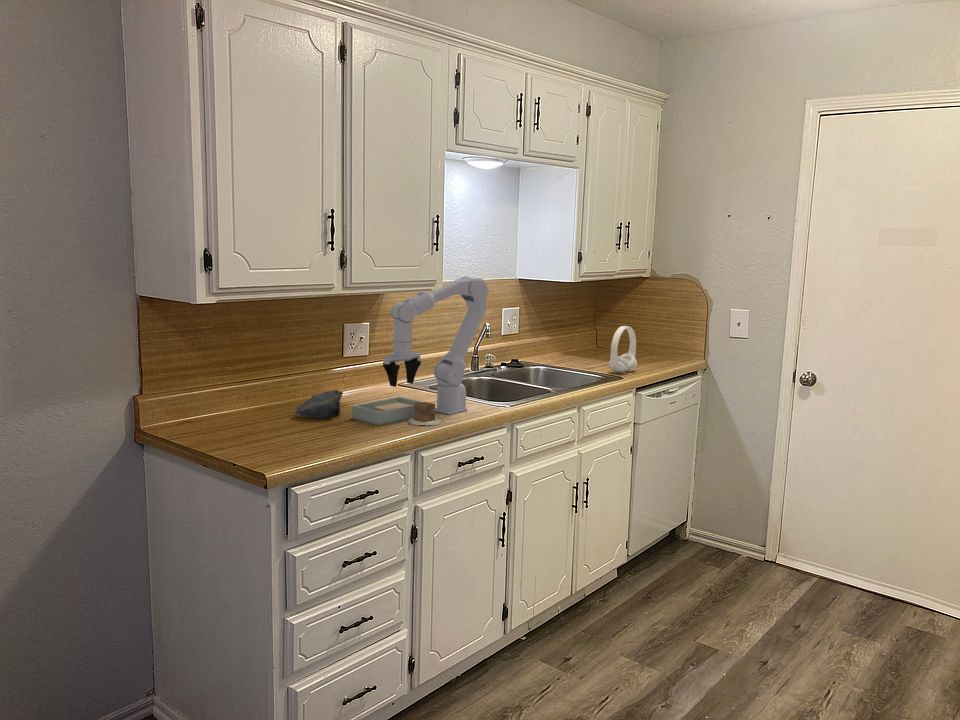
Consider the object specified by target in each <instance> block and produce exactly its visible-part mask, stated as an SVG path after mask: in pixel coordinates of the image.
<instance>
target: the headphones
mask: <svg viewBox="0 0 960 720" xmlns="http://www.w3.org/2000/svg"><path fill="white" fill-rule="evenodd" d="M625 330H626V331H627V333H628V337H629V349H628V352H626V353H623V354H621V355H620V356H619V355H618V349H619V348H618V347H619V343H620V339H621V336H622V334H623V332H624V331H625ZM634 330H635V329H633V327H631V326H628V325H621V326H619V327H618V328H617V329H616V330H615V332H614V334H613V336H612V340H611V345H610V359H609V361H608V364H607V366H608V368H609V369H610V370H612V371H613V372H615V373H617V372H620V373H619V374H624V373H626V372H625V371H628V372H631V371H633V370H635V369H636V367H637V365H638V362H637V359H636V354H637V351H636V350H637V337H636V332H635V331H634Z"/></svg>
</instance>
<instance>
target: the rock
mask: <svg viewBox="0 0 960 720" xmlns="http://www.w3.org/2000/svg"><path fill="white" fill-rule="evenodd" d="M343 393H344V392H343V391H340V390H338V389H335V390H329V391H328V390H327V391H324V392H320V393H317V394H313V395H312V396H311V398H309V399H307V400H306V401H305V402H304V403H302V404H299V405H298V406H297V407H296V408H295V410H294V414H295V415H299V416H301V417H308V418H312V419H314V418H315V419H329V418H330V419H331V418H332V417H333V416H334V415H335V416H337V415H340V414H341V402H340V401H341V398H342V397H343Z"/></svg>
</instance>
